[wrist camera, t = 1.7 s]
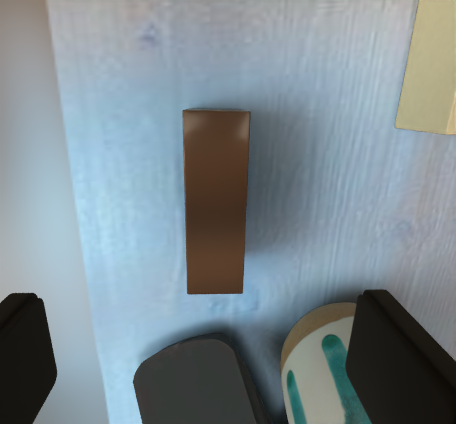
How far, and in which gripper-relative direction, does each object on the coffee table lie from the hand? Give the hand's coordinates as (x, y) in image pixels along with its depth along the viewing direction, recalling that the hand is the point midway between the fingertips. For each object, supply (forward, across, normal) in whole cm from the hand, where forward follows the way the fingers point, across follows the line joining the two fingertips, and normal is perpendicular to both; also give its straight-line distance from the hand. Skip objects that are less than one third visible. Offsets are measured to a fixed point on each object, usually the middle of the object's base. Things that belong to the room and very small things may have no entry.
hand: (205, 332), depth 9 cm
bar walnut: (+14, 0, -1) cm, 14 cm away
